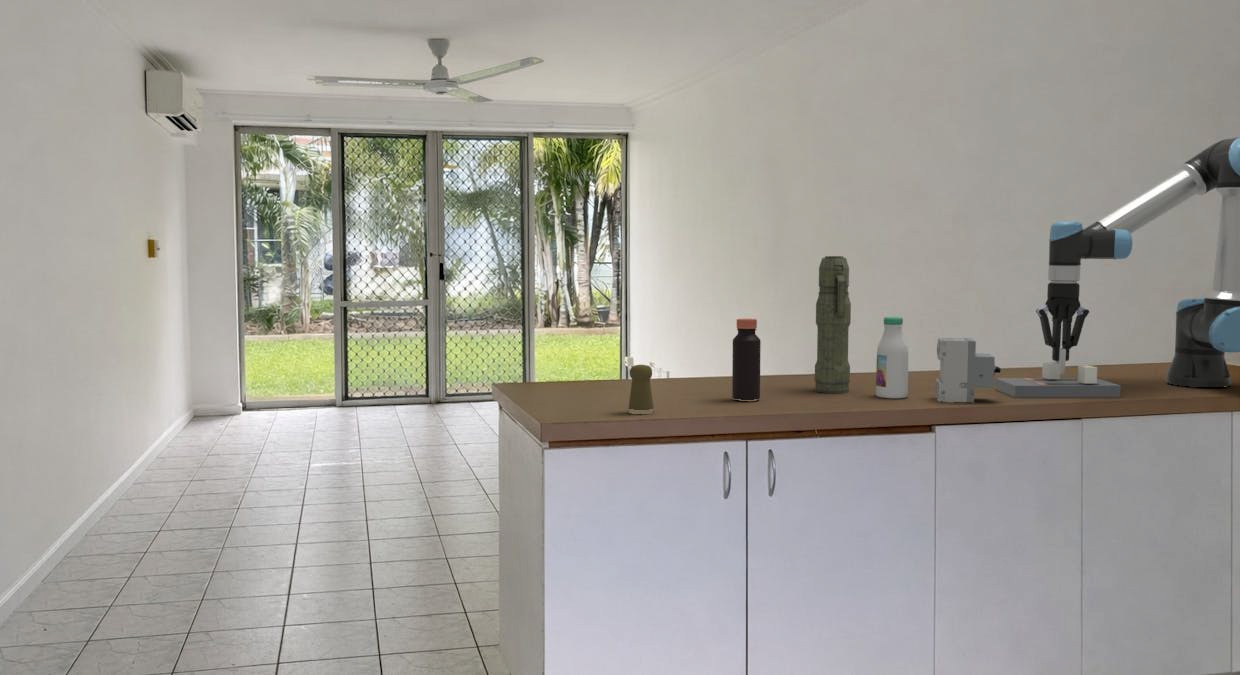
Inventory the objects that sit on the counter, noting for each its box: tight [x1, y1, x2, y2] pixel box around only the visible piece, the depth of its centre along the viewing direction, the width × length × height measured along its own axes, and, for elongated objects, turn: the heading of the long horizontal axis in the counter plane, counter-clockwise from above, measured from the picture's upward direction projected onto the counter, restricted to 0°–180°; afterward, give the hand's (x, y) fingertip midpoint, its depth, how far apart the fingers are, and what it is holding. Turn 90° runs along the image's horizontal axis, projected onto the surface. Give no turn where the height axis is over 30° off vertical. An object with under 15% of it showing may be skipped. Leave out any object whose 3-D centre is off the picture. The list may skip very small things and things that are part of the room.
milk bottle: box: [875, 316, 909, 399], centre depth 257 cm, size 8×8×20 cm
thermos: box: [814, 255, 852, 394], centre depth 266 cm, size 9×12×35 cm
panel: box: [994, 377, 1122, 399], centre depth 262 cm, size 26×14×3 cm, turn 89°
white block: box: [1077, 365, 1098, 383], centre depth 257 cm, size 3×4×4 cm
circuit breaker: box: [935, 337, 1001, 404], centre depth 251 cm, size 8×14×15 cm, turn 78°
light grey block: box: [1041, 361, 1061, 379], centre depth 265 cm, size 3×4×4 cm
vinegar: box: [731, 318, 762, 400], centre depth 252 cm, size 7×7×20 cm
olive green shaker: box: [628, 364, 654, 410], centre depth 235 cm, size 6×6×11 cm
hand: (1059, 373), depth 265 cm, fingers closed
